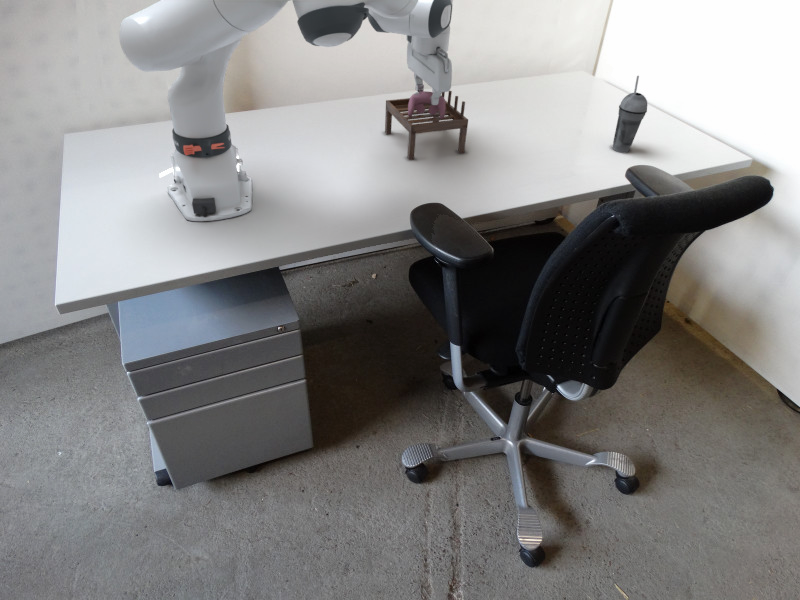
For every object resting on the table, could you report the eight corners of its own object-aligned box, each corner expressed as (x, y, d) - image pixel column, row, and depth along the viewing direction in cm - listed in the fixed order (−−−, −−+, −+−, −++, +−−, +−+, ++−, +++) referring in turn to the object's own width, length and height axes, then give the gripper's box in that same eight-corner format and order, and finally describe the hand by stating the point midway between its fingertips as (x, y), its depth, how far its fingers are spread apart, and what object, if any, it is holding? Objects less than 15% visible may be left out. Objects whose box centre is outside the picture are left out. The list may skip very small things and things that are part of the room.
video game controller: (444, 121, 157) (446, 93, 155) (444, 119, 152) (447, 91, 151) (407, 118, 157) (409, 90, 156) (406, 116, 153) (409, 88, 151)
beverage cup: (635, 156, 160) (659, 82, 148) (608, 152, 161) (629, 79, 149) (632, 145, 166) (655, 73, 153) (606, 142, 167) (626, 70, 154)
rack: (464, 152, 157) (470, 105, 149) (409, 160, 152) (412, 112, 144) (436, 126, 169) (440, 82, 161) (384, 132, 164) (386, 87, 156)
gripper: (461, 53, 138) (454, 111, 146) (426, 30, 152) (422, 83, 161) (437, 55, 136) (431, 113, 144) (403, 31, 150) (400, 85, 159)
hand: (426, 97), depth 153 cm, fingers open, 8 cm apart
